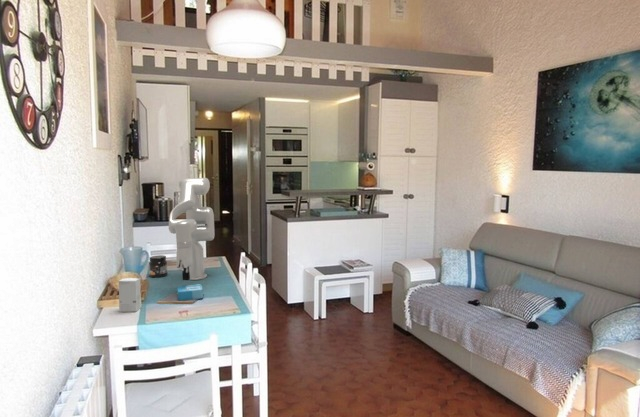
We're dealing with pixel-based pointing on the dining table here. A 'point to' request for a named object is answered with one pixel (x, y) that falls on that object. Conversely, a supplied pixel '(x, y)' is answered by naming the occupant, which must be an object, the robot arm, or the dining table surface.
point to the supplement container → (158, 266)
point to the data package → (190, 292)
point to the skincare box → (129, 295)
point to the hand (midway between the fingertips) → (186, 279)
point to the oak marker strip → (174, 302)
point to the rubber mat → (176, 298)
